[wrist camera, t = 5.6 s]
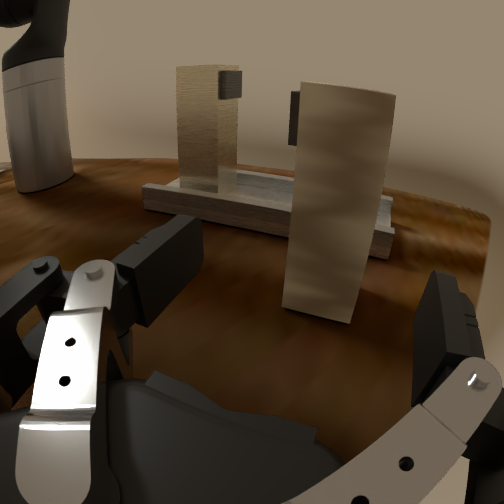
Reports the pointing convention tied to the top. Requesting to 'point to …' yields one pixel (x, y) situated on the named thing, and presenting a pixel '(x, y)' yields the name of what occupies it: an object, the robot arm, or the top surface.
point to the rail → (229, 164)
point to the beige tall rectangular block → (334, 193)
